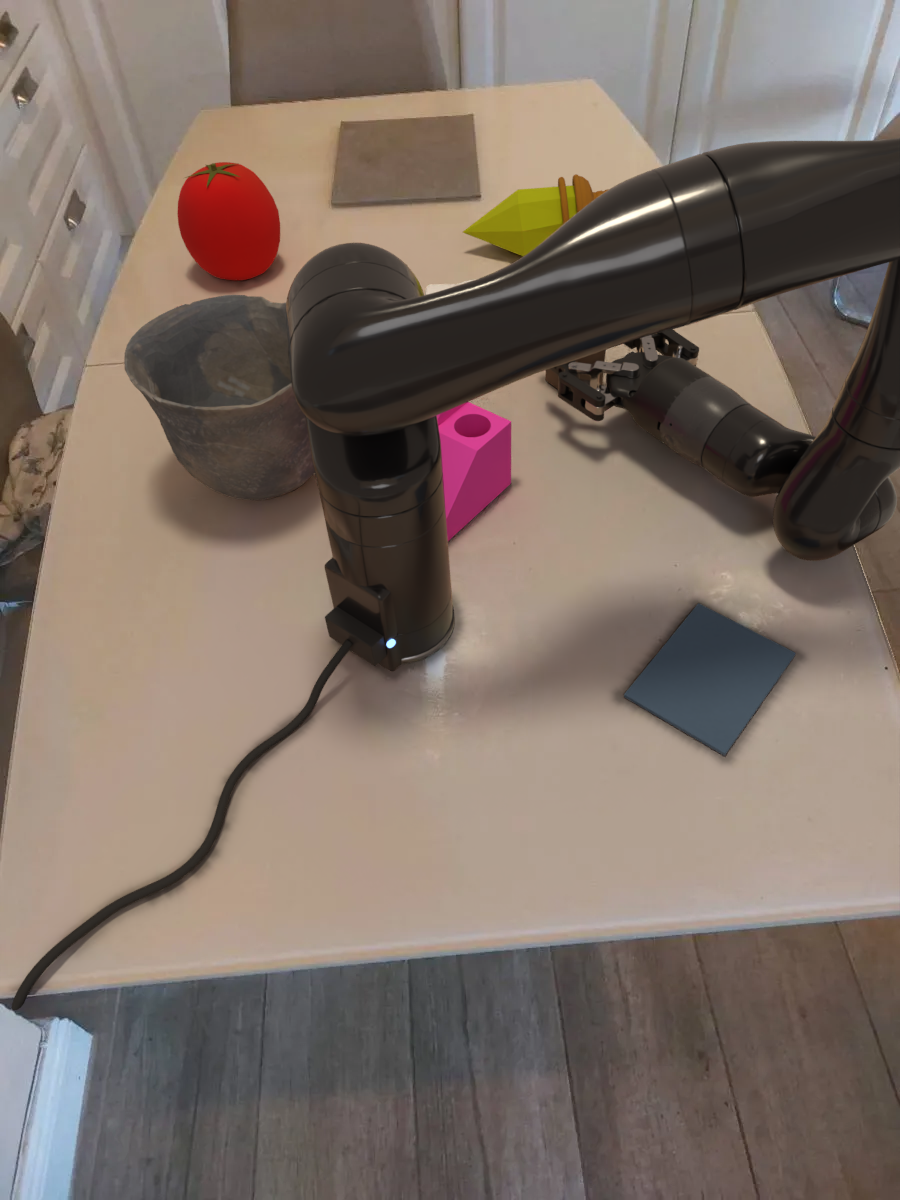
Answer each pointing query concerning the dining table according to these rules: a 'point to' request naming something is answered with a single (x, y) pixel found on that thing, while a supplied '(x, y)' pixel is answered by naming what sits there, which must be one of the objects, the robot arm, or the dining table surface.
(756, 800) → the dining table surface
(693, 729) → the blue mat
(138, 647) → the dining table surface
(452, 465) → the bracket
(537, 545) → the dining table surface
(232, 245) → the tomato
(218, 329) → the grey deep bowl
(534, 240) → the plumb bob
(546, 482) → the dining table surface
